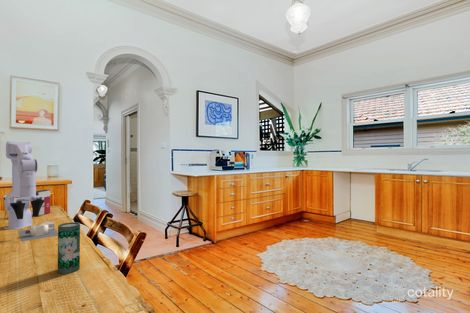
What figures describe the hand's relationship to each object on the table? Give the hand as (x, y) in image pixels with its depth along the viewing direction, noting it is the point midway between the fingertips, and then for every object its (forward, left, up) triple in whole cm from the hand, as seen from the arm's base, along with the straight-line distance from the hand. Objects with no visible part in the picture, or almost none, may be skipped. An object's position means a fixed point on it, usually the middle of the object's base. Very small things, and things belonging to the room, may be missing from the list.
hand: (28, 217), depth 118 cm
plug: (-7, 0, -10) cm, 12 cm away
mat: (-9, -3, -10) cm, 14 cm away
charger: (-15, -3, -10) cm, 18 cm away
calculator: (-47, -33, -10) cm, 58 cm away
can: (+27, +38, -10) cm, 48 cm away
